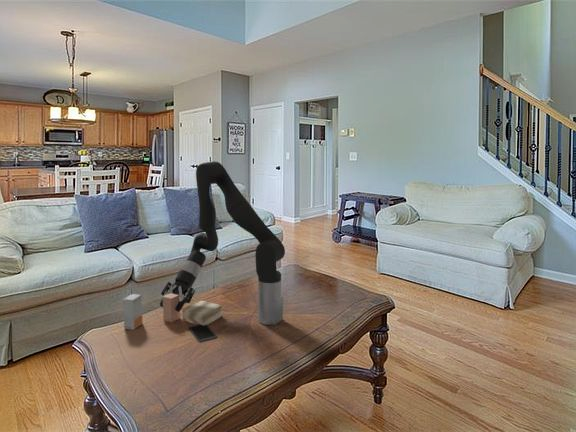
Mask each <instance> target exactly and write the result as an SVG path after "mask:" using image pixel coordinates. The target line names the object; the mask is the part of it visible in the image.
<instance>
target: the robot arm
mask: <svg viewBox="0 0 576 432" xmlns="http://www.w3.org/2000/svg"><path fill="white" fill-rule="evenodd" d="M195 179H196V187H197V188H196V189H197V196H198V204H199V205H198V206H199V212H198V213H199V214H198V227H199V229H200V230H201V231H203V232H199V233H197V234H196V235H195V236H194V239H193V243H192V246H191V251H190V254H189V255H188V257H187V259H186V261H185V262H184V263H183V265H182V267H181V268H180V269H179V271H178V274H177V275H176V277H175V278H174V279H175V281H174V283H171V282H170V281H168V282H167V283H166V285H165V286H164V288H163V289H162V291H161V293H160V294H161V295H162V297H163V296H165V295H167V294H170V293H173V294H177V295H179V303H178V305H177V306H176V308H175V310H176V311H177V312H179V311H180V312H181V311H182V310H183V307H184V305H185V304H191V301H192V299H193V296H194V295H195V293H196V289H195V288H193V285H194V283H195V281H196V279H197V277H198V276H199V274H200V273H201V272H200V271H201V269H202V267H203V265H204V263H205V261H206V258H207V256H206V254H205V253H203V252H202V251H201V250H205V251H208V252H214V251H215V250H217V249H218V248H217V247H218V246H219V237H218V232H217V228H216V227H217V226H216V221H217V220H216V218H217V217H216V216H217V215H216V214H217V213H216V212H217V211H216V208H215V205H214V203H213V201H212V199H211V194H210V190H211V185H215V184H216V185H217V187H219V189H220V191H221V192H222V194H223V196H224V203H225V208H226V209H225V210H226V211H227V213H228V215H229V217H231V219H232V220H233V222H234V223H235V224H236V225H237V226H239V227H240V228H242V229H243V230H244V231H246V232H248V233H249V234H250V235H252V236H253V237H254V238H255V239H256V240H257V242H258V243H259V244H257V246H256V248H255V257H254V258H255V272H256V275H257V292H258V293H257V321H258V322H259V323H260V324H261V325H269V326H270V325H271V326H276V325H278V324H279V323H280V322H282V321H283V320H282V319H283V318H284V298H283V297H282V273H281V271H279V270H277V262H279V261H280V260H282V259H283V258H284V257H285V255H286V248H285V245H284V244H283V242H282V241H281V240H280V238H279V237H277V236H276V234H275V233H274V232H272V230H271V229H270V228H269V227H268V226H267V225H266V224H265V223H264V221H263V220H262V219H261V217H260V216H259V215H258V214H257V212H256V211H255V209H254V207H252V205H251V204H250V202H249V201H248V200H247V199H246V198H245V196H244V195H243V194H242V193H241V191H240V190H239V188H238V187H237V186H236V184H235V182H234V181H233V180H232V178H231V176H230V175H229V173H228V172H227V169H226V168H225V167H224V165H223V164H222V163H220V162H219V161H207V162H201V163H199V164H198V165H197V167H196V171H195ZM159 306H160V307H161V308H163V298H162V299H161V300H160V302H159ZM281 320H282V321H281Z"/></svg>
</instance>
